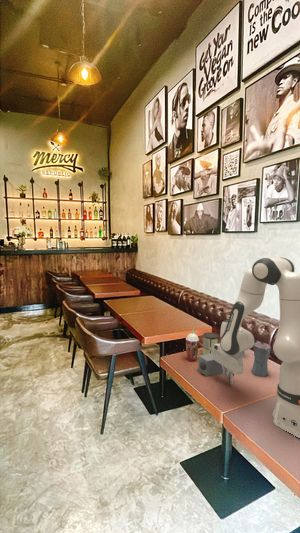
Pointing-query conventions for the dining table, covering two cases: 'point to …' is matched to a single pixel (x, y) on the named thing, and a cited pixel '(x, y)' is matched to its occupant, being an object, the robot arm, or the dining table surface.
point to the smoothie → (192, 346)
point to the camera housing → (209, 365)
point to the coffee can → (209, 342)
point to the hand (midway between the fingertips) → (226, 374)
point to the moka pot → (261, 358)
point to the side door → (231, 378)
